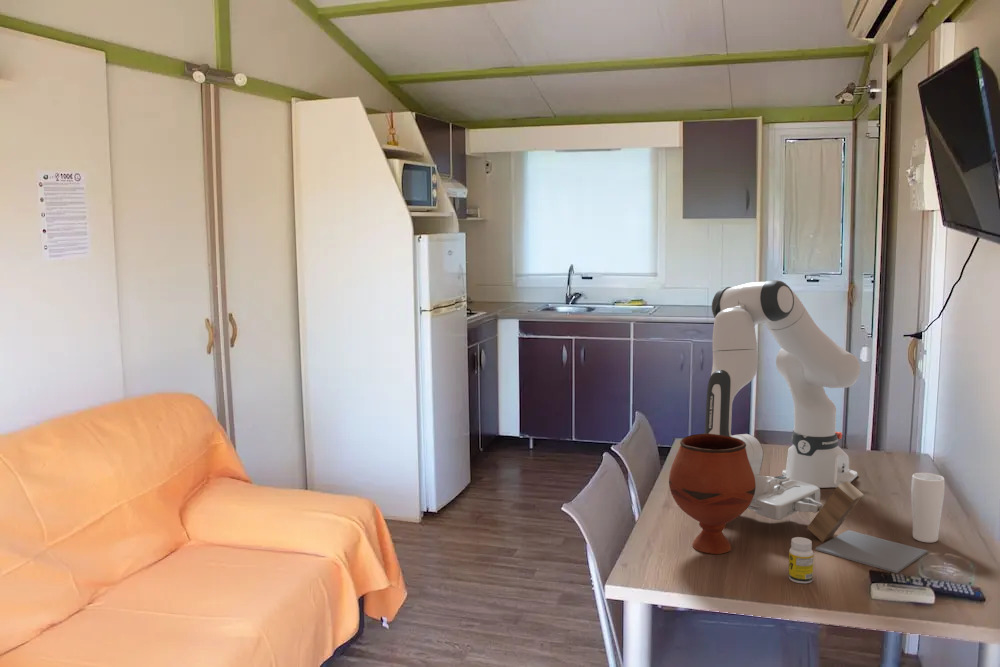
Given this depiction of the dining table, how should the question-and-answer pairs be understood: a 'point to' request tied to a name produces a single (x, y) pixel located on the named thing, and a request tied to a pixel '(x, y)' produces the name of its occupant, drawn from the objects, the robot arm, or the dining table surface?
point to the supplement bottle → (801, 560)
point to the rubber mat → (872, 551)
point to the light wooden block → (835, 511)
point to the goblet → (712, 485)
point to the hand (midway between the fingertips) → (819, 508)
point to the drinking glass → (926, 505)
